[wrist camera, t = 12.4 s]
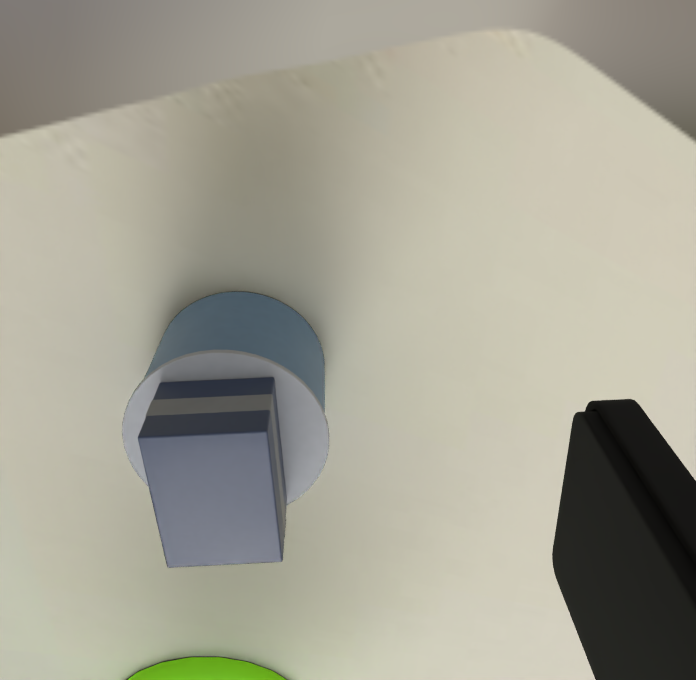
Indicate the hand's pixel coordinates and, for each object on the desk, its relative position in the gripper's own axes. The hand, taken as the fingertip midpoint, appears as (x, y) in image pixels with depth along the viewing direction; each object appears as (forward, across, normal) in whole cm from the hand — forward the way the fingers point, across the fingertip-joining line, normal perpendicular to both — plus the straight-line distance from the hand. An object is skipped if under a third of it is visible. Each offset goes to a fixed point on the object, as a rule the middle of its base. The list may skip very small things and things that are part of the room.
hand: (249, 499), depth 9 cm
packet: (+18, +4, +12) cm, 22 cm away
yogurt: (+24, +4, +12) cm, 27 cm away
